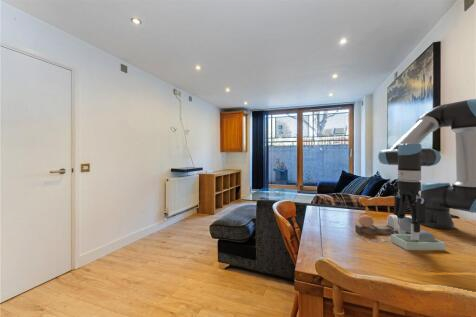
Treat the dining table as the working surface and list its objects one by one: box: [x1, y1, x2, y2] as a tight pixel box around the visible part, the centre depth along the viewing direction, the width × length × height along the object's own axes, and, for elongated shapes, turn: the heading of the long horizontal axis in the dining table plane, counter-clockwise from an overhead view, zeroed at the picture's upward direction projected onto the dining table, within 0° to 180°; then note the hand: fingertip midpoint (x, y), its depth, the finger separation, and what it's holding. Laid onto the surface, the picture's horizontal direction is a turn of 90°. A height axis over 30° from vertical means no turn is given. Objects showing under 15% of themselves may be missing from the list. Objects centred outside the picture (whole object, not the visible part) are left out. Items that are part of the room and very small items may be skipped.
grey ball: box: [417, 230, 436, 242], centre depth 87 cm, size 6×6×6 cm
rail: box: [354, 224, 395, 235], centre depth 102 cm, size 16×4×4 cm, turn 89°
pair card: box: [366, 238, 388, 245], centre depth 92 cm, size 8×6×1 cm
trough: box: [390, 233, 446, 251], centre depth 87 cm, size 15×9×4 cm, turn 90°
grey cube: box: [399, 217, 413, 234], centre depth 87 cm, size 6×6×6 cm
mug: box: [386, 214, 417, 232], centre depth 107 cm, size 12×10×8 cm
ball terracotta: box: [358, 214, 374, 228], centre depth 102 cm, size 6×6×6 cm
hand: (408, 236), depth 87 cm, fingers closed on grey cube, 6 cm apart
